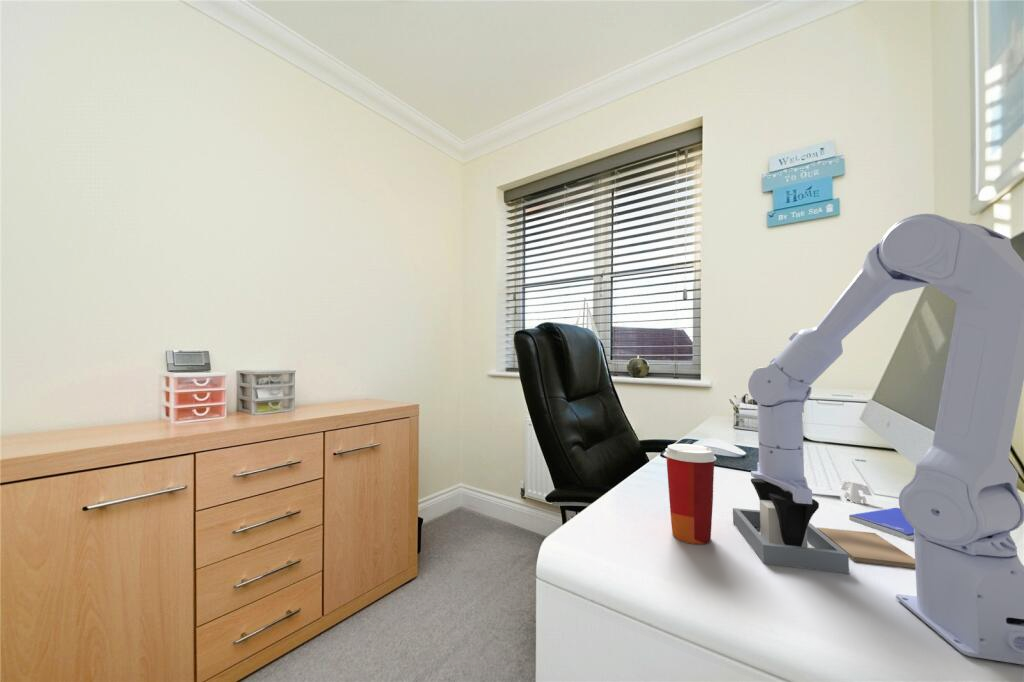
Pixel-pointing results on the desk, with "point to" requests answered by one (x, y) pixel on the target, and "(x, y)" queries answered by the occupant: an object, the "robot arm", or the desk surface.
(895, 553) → the pad
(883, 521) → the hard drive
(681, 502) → the paper cup
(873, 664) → the desk surface
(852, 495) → the clip
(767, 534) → the block
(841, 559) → the tray
